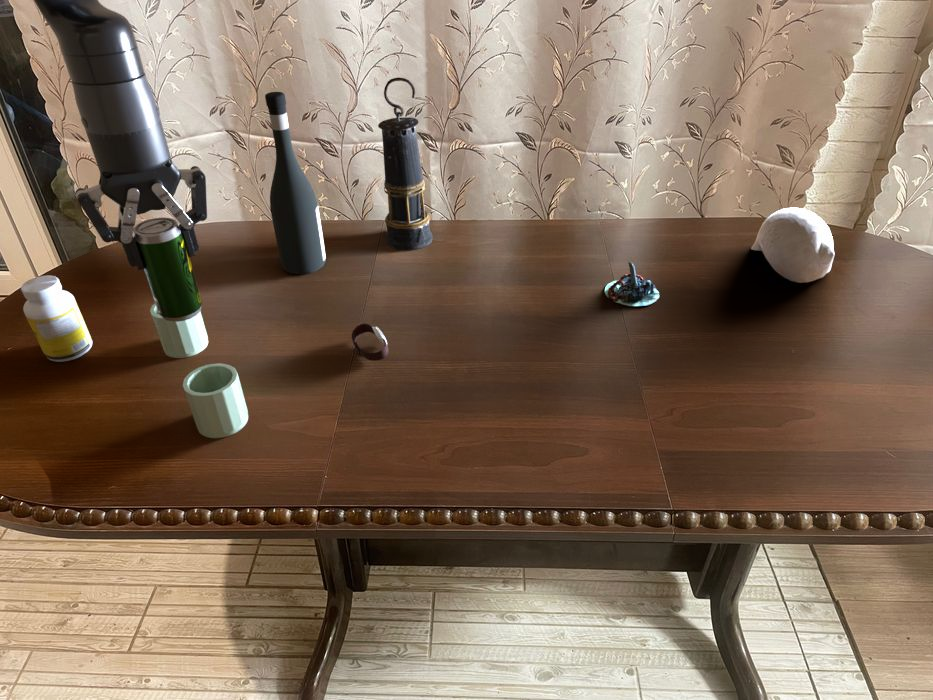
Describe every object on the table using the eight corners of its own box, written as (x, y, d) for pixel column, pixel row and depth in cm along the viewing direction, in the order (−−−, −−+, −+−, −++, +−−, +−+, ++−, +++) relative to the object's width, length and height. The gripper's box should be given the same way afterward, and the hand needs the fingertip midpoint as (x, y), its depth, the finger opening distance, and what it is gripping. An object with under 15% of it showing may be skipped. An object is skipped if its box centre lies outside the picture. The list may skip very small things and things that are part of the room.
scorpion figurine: (646, 299, 103) (630, 257, 106) (609, 318, 108) (595, 277, 110) (670, 304, 109) (654, 264, 111) (634, 322, 113) (619, 283, 116)
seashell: (753, 312, 118) (815, 275, 104) (715, 245, 120) (771, 201, 107) (810, 288, 123) (876, 251, 110) (773, 225, 126) (833, 181, 113)
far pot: (168, 363, 95) (155, 323, 91) (159, 341, 99) (146, 302, 95) (213, 349, 98) (202, 309, 93) (202, 329, 102) (191, 290, 98)
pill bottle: (64, 336, 100) (34, 270, 94) (102, 340, 100) (75, 273, 93) (35, 362, 95) (1, 293, 88) (76, 365, 94) (45, 297, 88)
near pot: (204, 445, 81) (189, 402, 77) (191, 416, 85) (177, 374, 81) (254, 426, 84) (243, 383, 80) (240, 399, 88) (228, 357, 84)
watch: (397, 357, 96) (395, 337, 93) (368, 368, 94) (365, 347, 91) (373, 332, 101) (371, 312, 99) (345, 342, 99) (342, 322, 97)
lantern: (390, 228, 131) (377, 68, 113) (436, 229, 130) (429, 69, 112) (381, 249, 123) (365, 82, 106) (429, 251, 122) (421, 83, 105)
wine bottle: (310, 251, 123) (282, 84, 105) (335, 265, 118) (311, 93, 101) (273, 266, 118) (237, 94, 100) (298, 281, 114) (265, 103, 96)
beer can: (170, 328, 81) (142, 240, 74) (152, 311, 85) (123, 226, 77) (211, 311, 84) (187, 226, 77) (192, 296, 88) (167, 212, 81)
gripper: (183, 102, 76) (216, 235, 86) (44, 123, 70) (97, 263, 80) (199, 118, 71) (233, 258, 81) (51, 142, 65) (107, 290, 74)
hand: (165, 260), depth 80 cm, fingers closed on beer can, 5 cm apart
